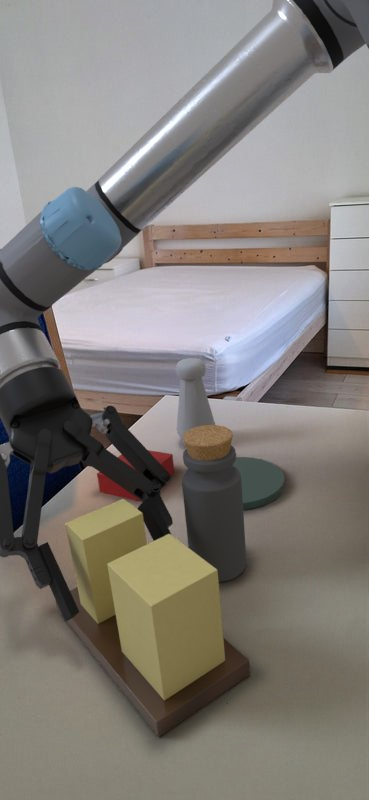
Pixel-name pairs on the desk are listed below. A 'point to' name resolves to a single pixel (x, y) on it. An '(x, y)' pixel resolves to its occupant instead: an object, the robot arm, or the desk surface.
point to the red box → (114, 489)
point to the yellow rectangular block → (102, 552)
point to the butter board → (138, 689)
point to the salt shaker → (192, 396)
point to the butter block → (168, 613)
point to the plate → (259, 481)
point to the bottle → (214, 500)
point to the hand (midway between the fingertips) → (126, 588)
